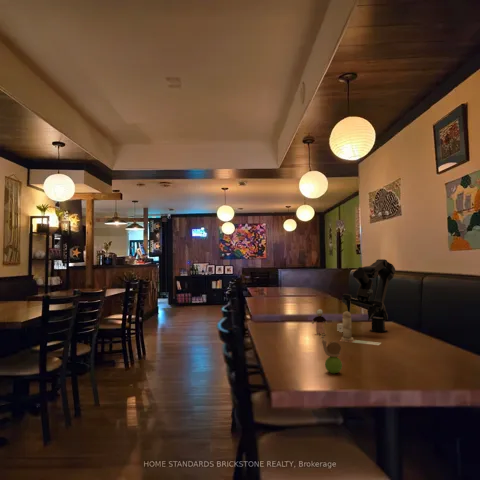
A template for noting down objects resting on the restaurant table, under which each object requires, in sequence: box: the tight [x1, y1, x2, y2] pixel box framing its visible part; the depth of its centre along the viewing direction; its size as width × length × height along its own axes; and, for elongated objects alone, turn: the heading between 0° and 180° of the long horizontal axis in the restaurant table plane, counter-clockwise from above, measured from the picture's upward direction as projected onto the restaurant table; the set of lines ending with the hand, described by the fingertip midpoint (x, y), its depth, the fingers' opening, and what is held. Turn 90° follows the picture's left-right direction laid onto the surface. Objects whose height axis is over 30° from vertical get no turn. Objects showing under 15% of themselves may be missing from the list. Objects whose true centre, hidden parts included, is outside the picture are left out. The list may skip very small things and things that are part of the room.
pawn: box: [341, 310, 354, 343], centre depth 175 cm, size 5×5×13 cm
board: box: [339, 339, 382, 346], centre depth 172 cm, size 18×7×1 cm, turn 57°
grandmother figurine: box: [311, 309, 329, 336], centre depth 192 cm, size 8×4×13 cm, turn 84°
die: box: [336, 322, 343, 333], centre depth 200 cm, size 4×4×4 cm
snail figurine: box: [321, 335, 343, 375], centre depth 126 cm, size 5×6×12 cm
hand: (358, 318), depth 182 cm, fingers open, 9 cm apart
